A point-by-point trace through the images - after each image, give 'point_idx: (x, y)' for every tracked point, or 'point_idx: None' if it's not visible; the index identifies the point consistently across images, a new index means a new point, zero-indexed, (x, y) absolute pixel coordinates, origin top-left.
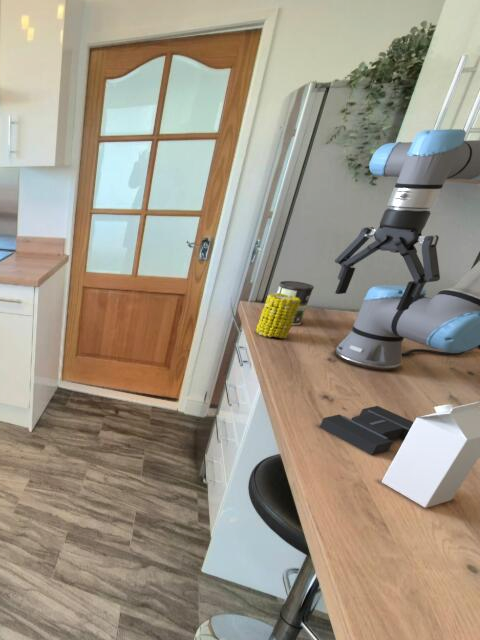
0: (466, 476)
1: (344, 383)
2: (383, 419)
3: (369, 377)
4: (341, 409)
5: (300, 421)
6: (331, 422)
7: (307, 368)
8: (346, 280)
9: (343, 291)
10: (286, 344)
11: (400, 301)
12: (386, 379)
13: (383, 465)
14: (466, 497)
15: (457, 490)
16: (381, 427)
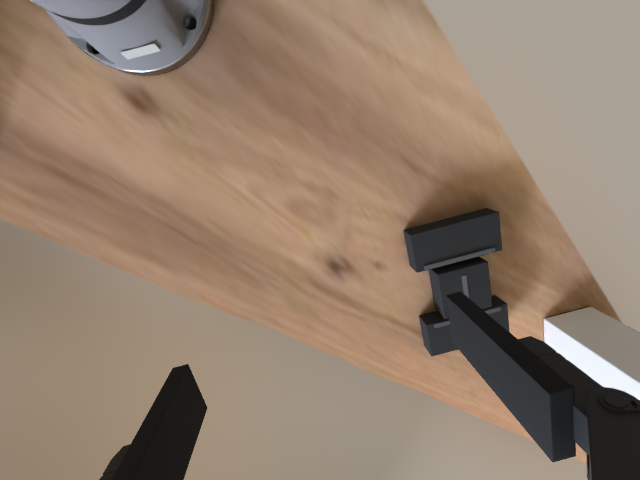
0: (629, 327)
1: (279, 180)
2: (459, 273)
3: (249, 87)
4: (380, 272)
5: (405, 362)
6: (444, 352)
7: (199, 206)
8: (174, 453)
9: (192, 389)
10: (27, 148)
11: (476, 366)
12: (261, 49)
13: (519, 328)
14: (591, 282)
15: (605, 314)
16: (479, 297)
